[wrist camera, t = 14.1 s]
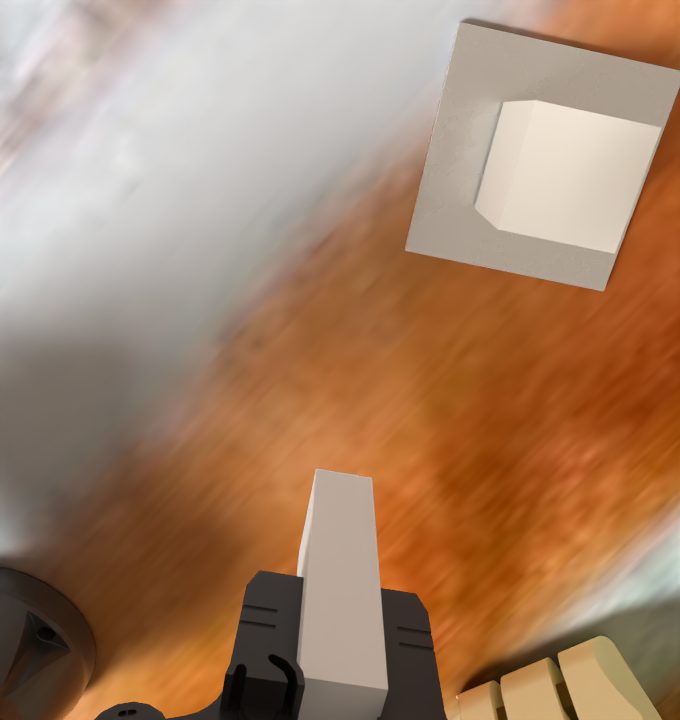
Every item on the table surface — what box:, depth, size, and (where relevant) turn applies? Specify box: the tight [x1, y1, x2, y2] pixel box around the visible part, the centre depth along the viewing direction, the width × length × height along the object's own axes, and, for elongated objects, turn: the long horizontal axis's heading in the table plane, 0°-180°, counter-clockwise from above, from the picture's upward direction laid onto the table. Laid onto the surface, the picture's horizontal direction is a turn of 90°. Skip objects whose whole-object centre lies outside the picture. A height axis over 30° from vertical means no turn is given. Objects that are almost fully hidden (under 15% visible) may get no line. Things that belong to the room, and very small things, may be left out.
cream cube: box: [475, 100, 661, 254], centre depth 31 cm, size 6×6×7 cm
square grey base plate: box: [404, 22, 680, 292], centre depth 32 cm, size 12×12×7 cm
